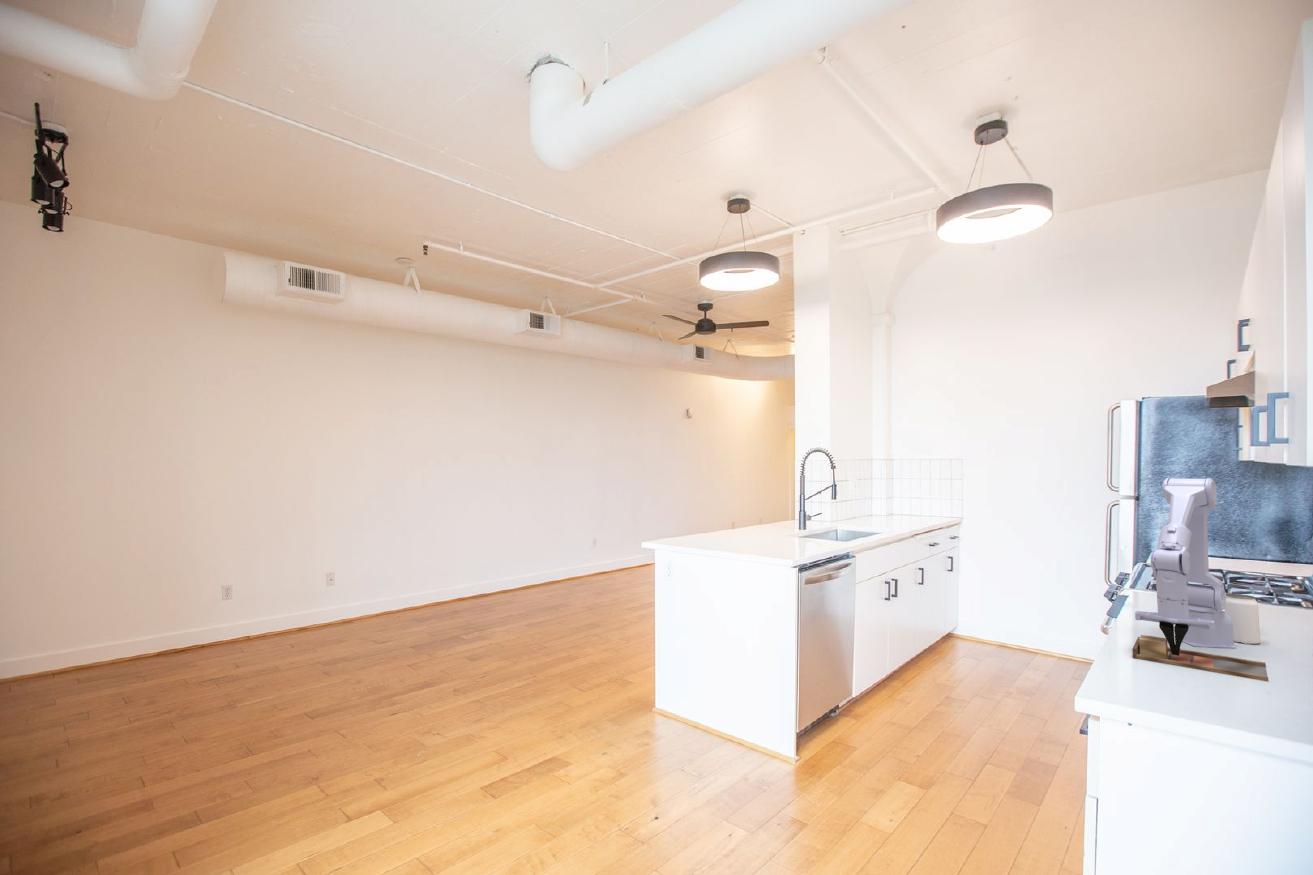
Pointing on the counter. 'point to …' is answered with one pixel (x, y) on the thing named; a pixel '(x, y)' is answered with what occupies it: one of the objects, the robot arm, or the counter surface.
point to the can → (1243, 618)
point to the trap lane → (1209, 663)
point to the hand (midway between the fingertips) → (1175, 654)
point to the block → (1153, 646)
